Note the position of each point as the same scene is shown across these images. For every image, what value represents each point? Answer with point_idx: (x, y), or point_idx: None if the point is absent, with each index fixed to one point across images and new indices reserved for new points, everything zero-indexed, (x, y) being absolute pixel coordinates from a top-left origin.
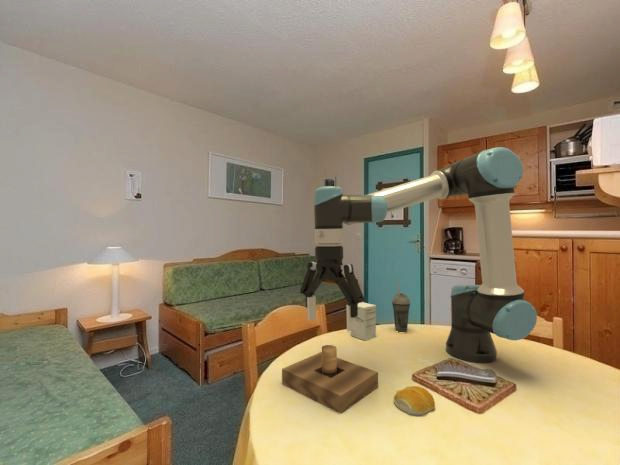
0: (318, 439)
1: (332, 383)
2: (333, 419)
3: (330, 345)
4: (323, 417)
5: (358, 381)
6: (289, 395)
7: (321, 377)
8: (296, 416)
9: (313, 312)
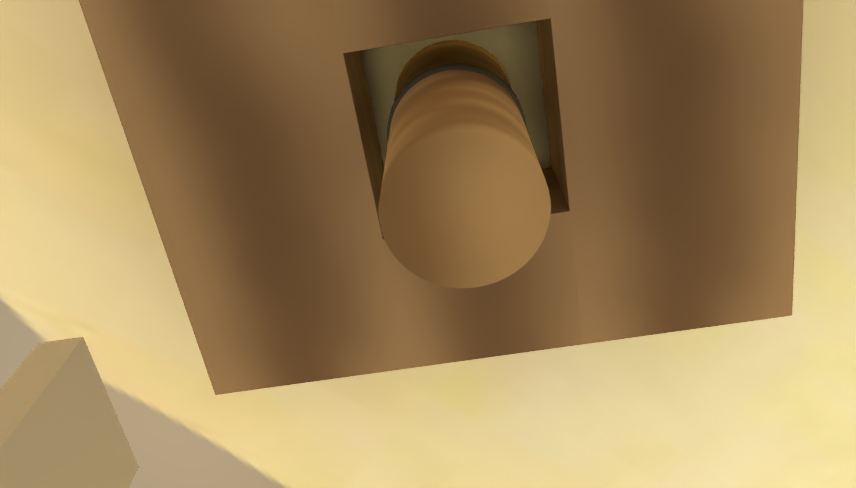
0: (793, 454)
1: (639, 256)
2: (749, 322)
3: (419, 155)
4: (697, 349)
5: (769, 78)
6: None
7: None
8: (590, 438)
9: (50, 479)
